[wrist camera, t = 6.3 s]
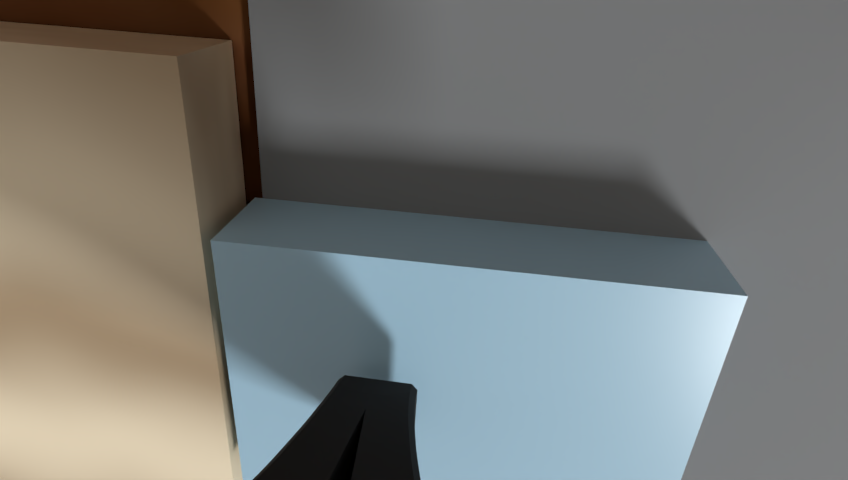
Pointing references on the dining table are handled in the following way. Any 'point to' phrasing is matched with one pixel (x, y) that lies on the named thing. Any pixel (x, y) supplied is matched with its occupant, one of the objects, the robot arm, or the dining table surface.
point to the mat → (603, 160)
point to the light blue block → (476, 336)
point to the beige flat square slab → (115, 254)
